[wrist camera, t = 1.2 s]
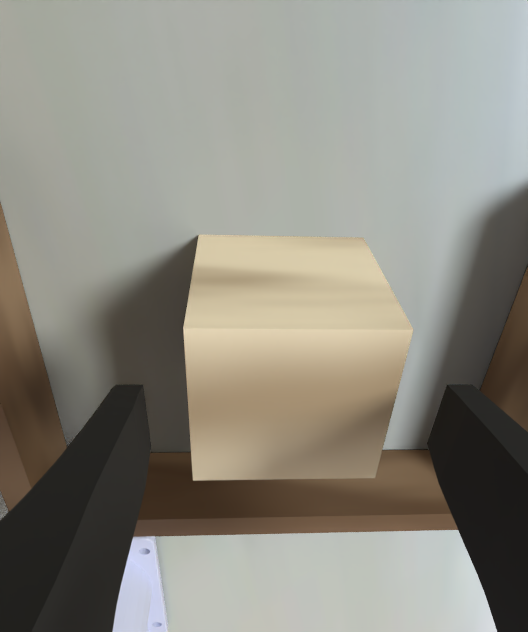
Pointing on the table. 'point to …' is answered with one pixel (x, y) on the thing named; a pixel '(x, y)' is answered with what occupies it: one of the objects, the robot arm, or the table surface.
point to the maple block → (290, 358)
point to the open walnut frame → (234, 495)
